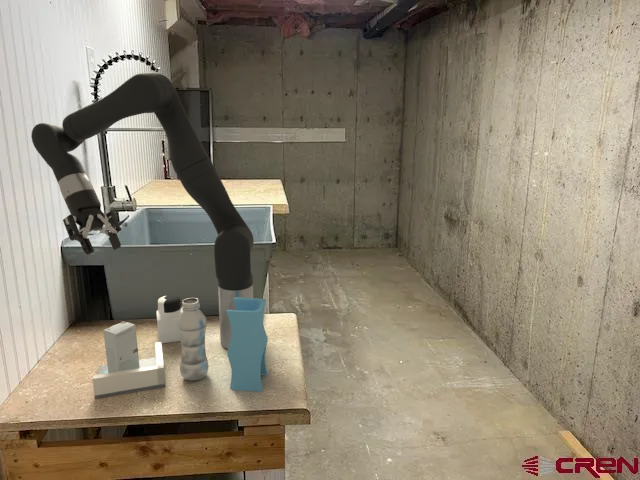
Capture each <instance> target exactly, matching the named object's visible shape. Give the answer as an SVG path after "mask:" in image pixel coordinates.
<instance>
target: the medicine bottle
mask: <svg viewBox="0 0 640 480" xmlns="http://www.w3.org/2000/svg"><path fill="white" fill-rule="evenodd" d="M181 301H182V300H181V298H180V296H179V295H174V294H167V295H164V296H161V297H159V298H158V300H157V310H156V311H155V313H156V325H157V335H158V342H161V344H163V345H164V344H168V343H169V344H170V343H174V342H181V338H180V333H179V329H178V319H179V317H180V315H181V314H182V312H183V311H184V310H183V309H182V306H181V305H182V302H181Z"/></svg>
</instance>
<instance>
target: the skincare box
mask: <svg viewBox="0 0 640 480" xmlns="http://www.w3.org/2000/svg"><path fill="white" fill-rule="evenodd" d="M102 332H103V338H104V347H105V348H104V349H105V358H106V365H107V367H108V373H112V372H119V371H125V370H131V369H138V368H140V367H139V360H140V358H139V347H138V340H137V339H138V337H137V328H136V324H134V323H131V322H127V321H124V320H123V321H121V322H119V323H117V324H113V325H112V326H110V327H108V328H105V329H103V331H102Z"/></svg>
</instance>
